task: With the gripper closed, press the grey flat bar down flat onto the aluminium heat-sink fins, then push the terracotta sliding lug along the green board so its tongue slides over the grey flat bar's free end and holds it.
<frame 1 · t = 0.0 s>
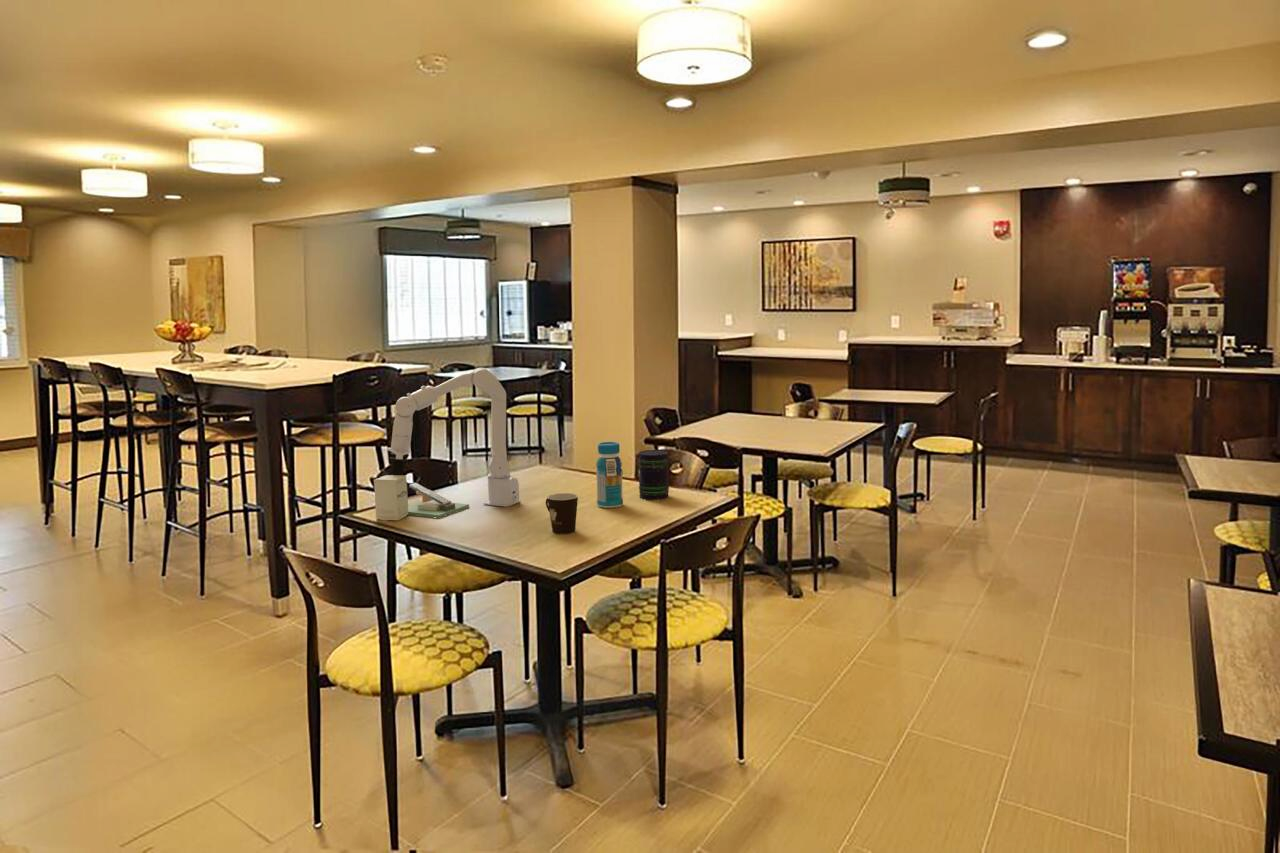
hand: (396, 478, 267), 11 cm above the table, tool pointing down, fingers open, 7 cm apart
beverage bottle: (610, 506, 270), on the table
coffee mug: (562, 530, 242), on the table
lug: (425, 496, 274), point 3 cm above the table, slide at 0.0 cm, touching board
supplement box: (392, 518, 260), on the table
storage jar: (654, 497, 281), on the table
board: (431, 510, 268), on the table
grey flat bar: (429, 494, 268), point 5 cm above the table, hinge at 20.0°
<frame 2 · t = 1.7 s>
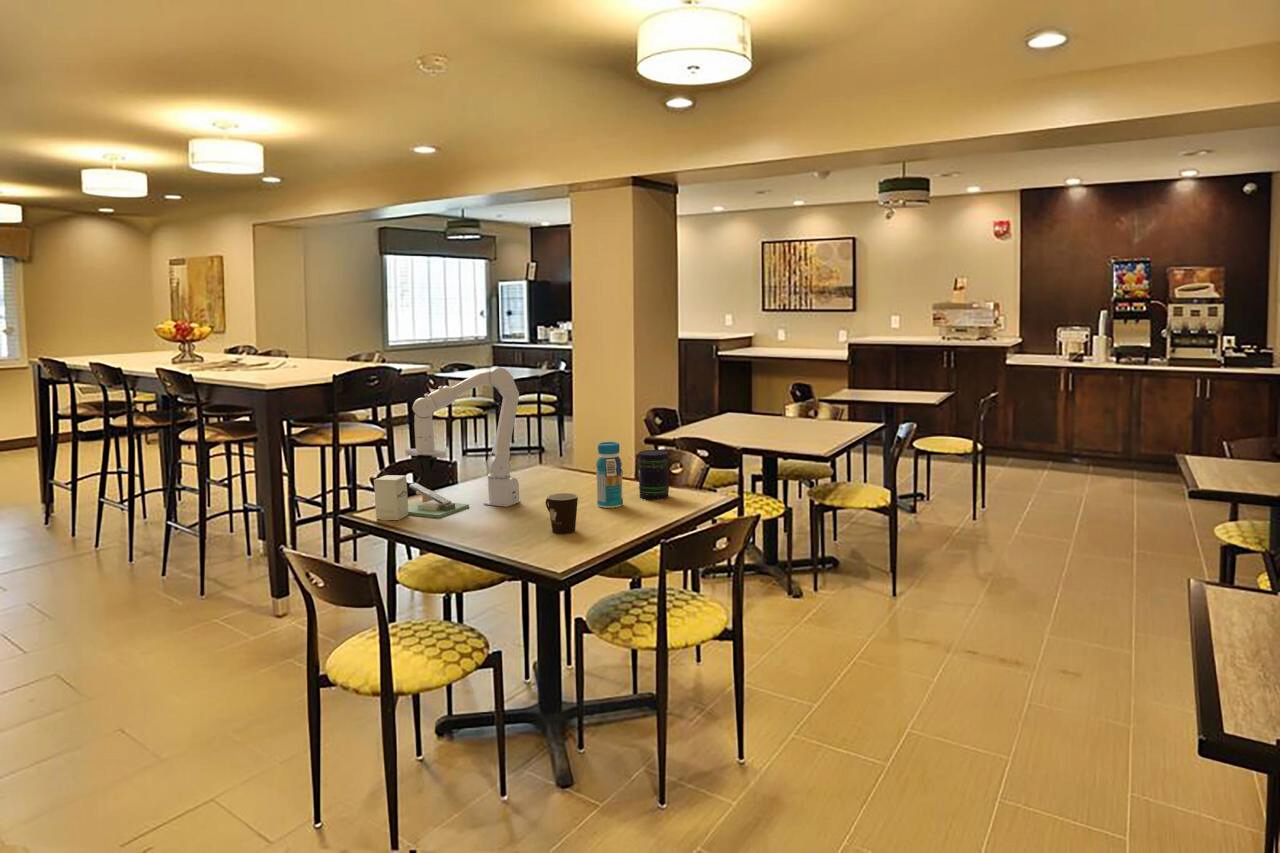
hand: (427, 479, 267), 10 cm above the table, tool pointing down, fingers closed
nothing on the table moved.
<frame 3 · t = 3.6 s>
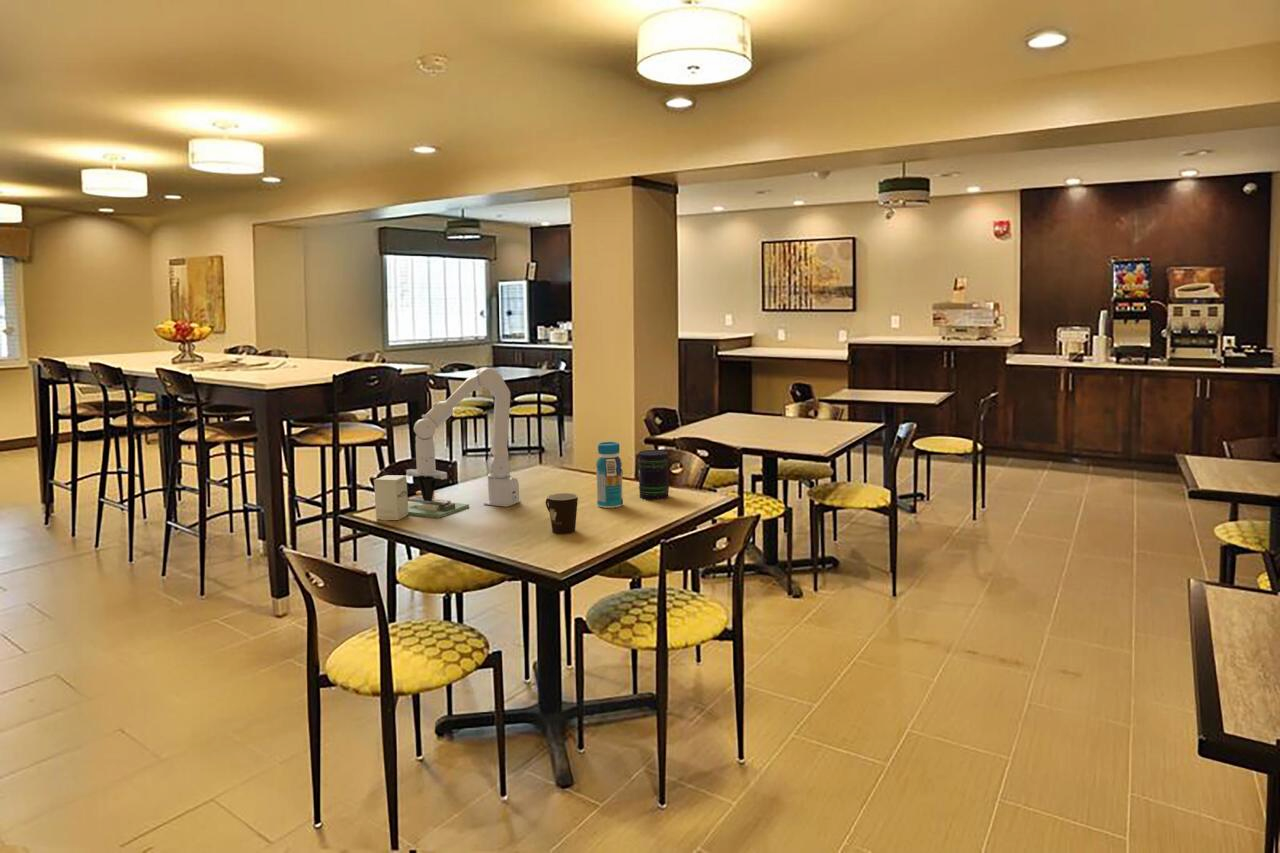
hand: (427, 499, 268), 3 cm above the table, tool pointing down, fingers closed, pressing on grey flat bar
grey flat bar: (428, 500, 268), point 3 cm above the table, hinge at 0.5°, touching gripper
everything else where it was.
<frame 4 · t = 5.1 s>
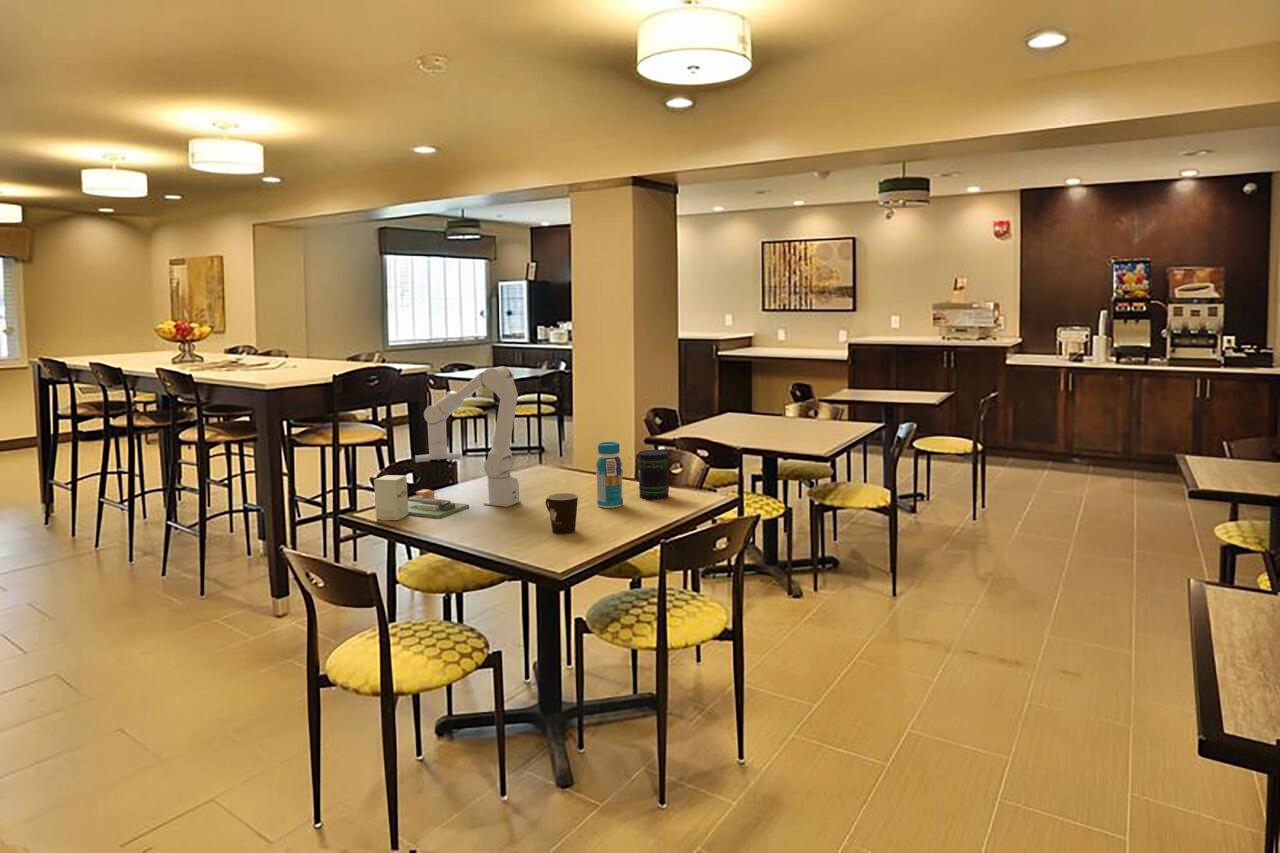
hand: (439, 482, 281), 6 cm above the table, tool pointing down, fingers closed
grey flat bar: (428, 500, 268), point 3 cm above the table, hinge at 0.4°
everything else where it was.
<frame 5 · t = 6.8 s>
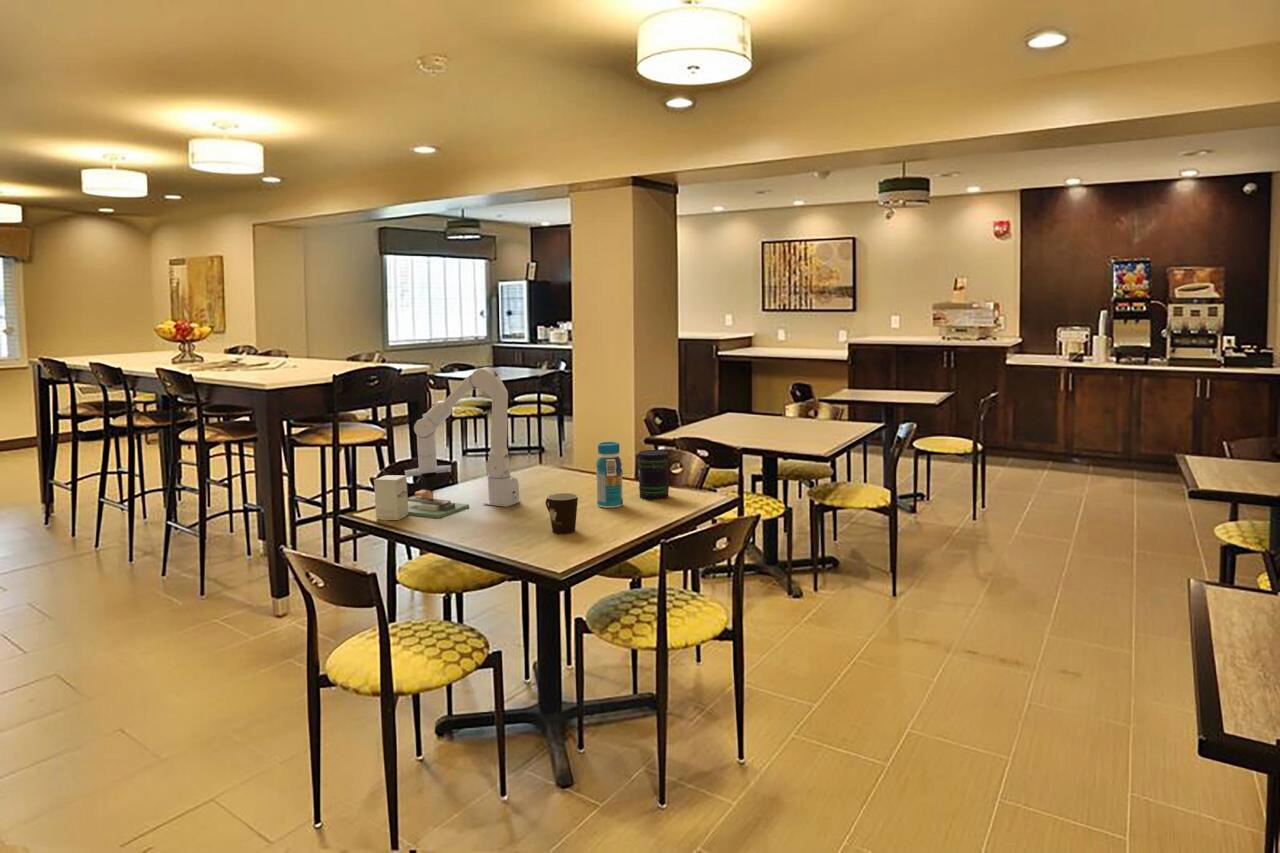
hand: (429, 495, 277), 3 cm above the table, tool pointing down, fingers closed, pressing on lug
lug: (424, 496, 274), point 3 cm above the table, slide at 0.5 cm, touching board, gripper
everything else where it was.
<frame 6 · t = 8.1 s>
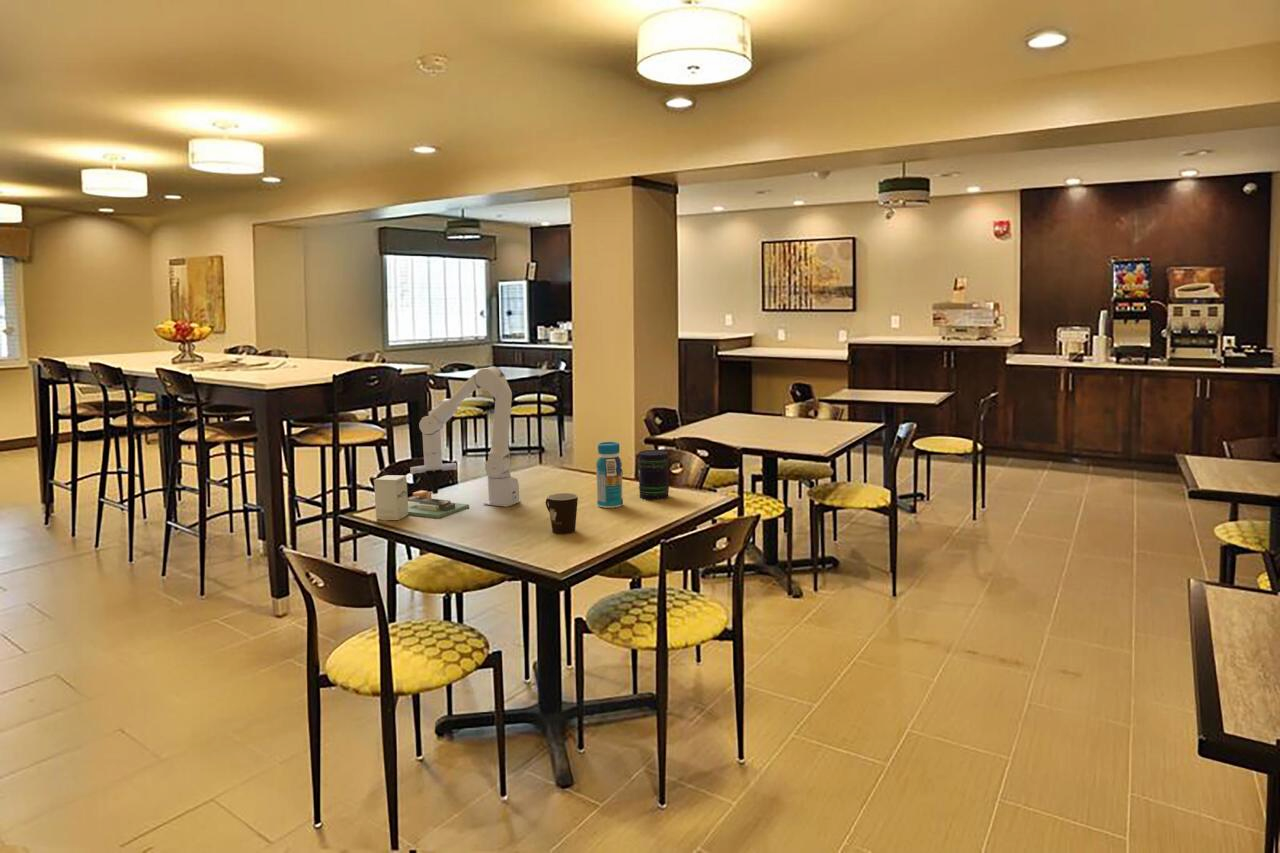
hand: (435, 493, 278), 3 cm above the table, tool pointing down, fingers closed
lug: (422, 497, 273), point 3 cm above the table, slide at 1.5 cm, touching board
everything else where it was.
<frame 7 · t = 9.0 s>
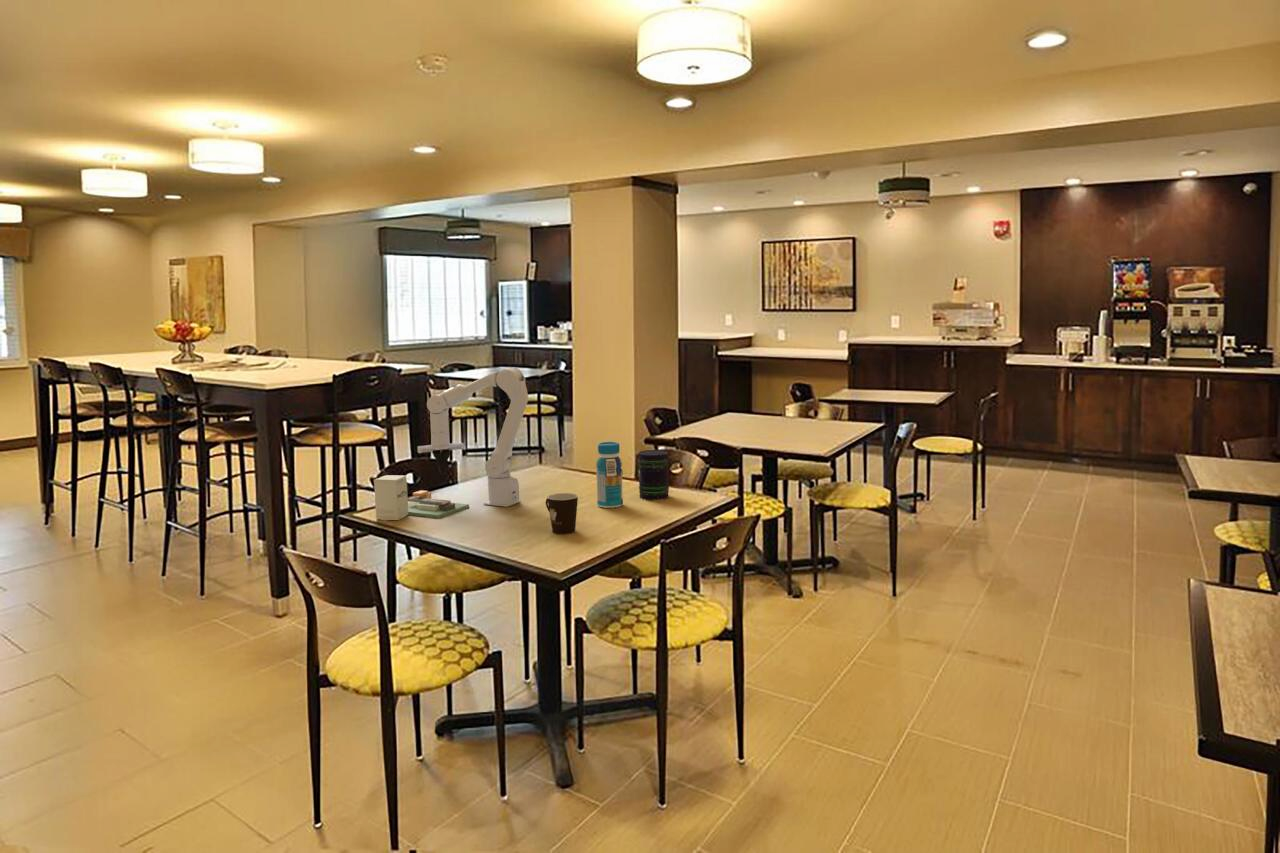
hand: (442, 472, 277), 10 cm above the table, tool pointing down, fingers closed
nothing on the table moved.
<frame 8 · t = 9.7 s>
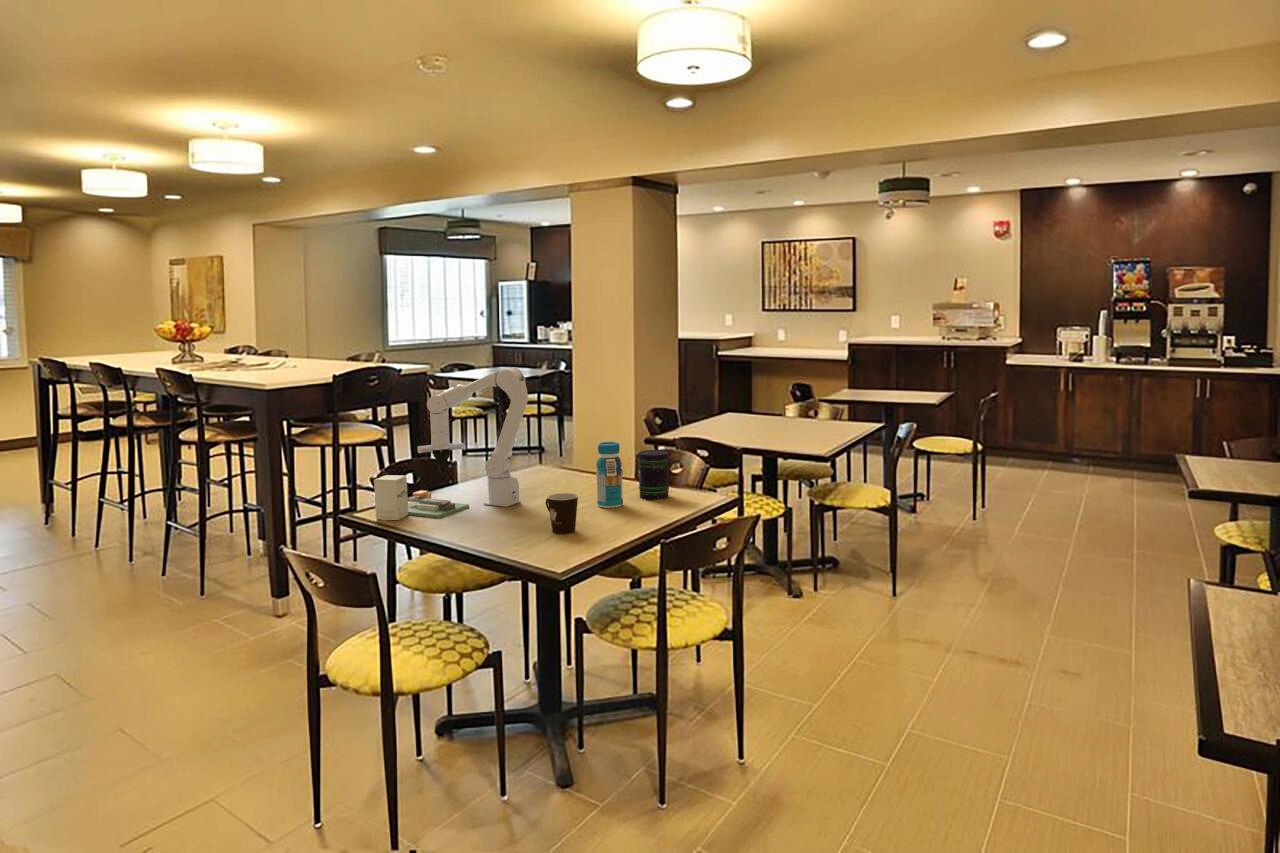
hand: (442, 472, 277), 10 cm above the table, tool pointing down, fingers closed
nothing on the table moved.
at the end: grey flat bar at +0° (first picture: +20°); lug slide at 1.5 cm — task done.
